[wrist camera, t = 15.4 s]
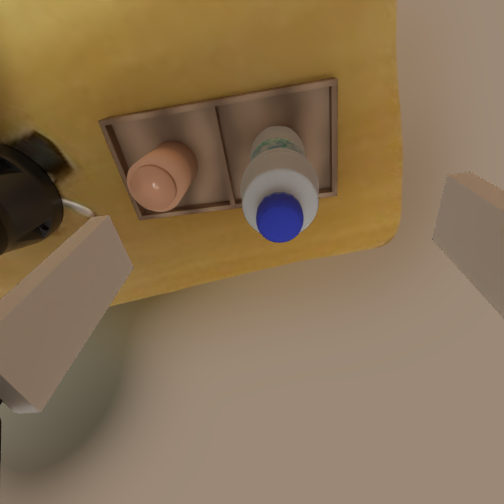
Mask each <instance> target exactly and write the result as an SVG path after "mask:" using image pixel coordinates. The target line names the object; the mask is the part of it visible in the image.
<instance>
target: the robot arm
mask: <svg viewBox="0 0 504 504" xmlns="http://www.w3.org/2000/svg"><path fill="white" fill-rule="evenodd" d="M62 216H63V208H62V202H61V199H60V196H59V194H58V192H57V190H56V188H55V186H54V184H53V183H52V181H51V180H50V179H49V177H48V176H47V175H46V174H45V173H44V171H43V170H42V169H41V168H40V167H39V166H38V165H36V164H35V163H34V162H33V161H32V160H30V159H29V158H28V157H26V156H25V155H23V154H22V153H20V152H18V151H16V150H14V149H12V148H10V147H8V146H5V145H2V144H0V255H2V254H3V253H6V252H9V251H12V250H15V249H19V248H22V247H25V246H29V245H32V244H35V243H38V242H40V241H42V240H44V239H45V238H47V237H48V236H49V235H51V234H52V233H53V232H54V231H55V230H56V229H57V228H58V227H59V225H60V223H61V221H62ZM432 240H433V241H434V242H435V243H436V244H437V245H438V247H439V248H440V249H441V250H442V251H443V252H444V253H445V254H446V255H447V256H448V258H449V259H450V260H451V261H452V262H453V263H454V264H455V265H456V266H457V267H458V269H459V270H460V271H461V272H462V273H463V274H464V275H465V276H466V277H467V279H468V280H469V281H470V282H471V283H472V284H473V285H474V286H475V287H476V288H477V290H478V291H479V292H480V293H481V294H482V295H483V296H484V297H485V298H486V299H487V300H488V302H489V303H490V304H491V305H492V306H493V307H494V308H495V310H496V311H498V313H499V314H500V315H501V316H502V317H503V318H504V191H503V190H502V189H500V188H498V187H496V186H494V185H493V184H491V183H489V182H487V181H486V180H484V179H482V178H480V177H478V176H477V175H475V174H473V173H471V172H465V173H457V174H448V175H447V177H446V182H445V186H444V190H443V195H442V199H441V203H440V208H439V212H438V216H437V221H436V225H435V229H434V234H433V238H432ZM133 268H134V267H133V265H132V263H131V261H130V259H129V257H128V255H127V252H126V250H125V248H124V246H123V244H122V242H121V240H120V237H119V235H118V233H117V231H116V229H115V227H114V225H113V222H112V220H111V218H110V216H109V215H106V216H97V217H92V218H91V219H89V220H88V221H87V222H86V223H85V224H84V225H83V226H82V227H81V228H79V229H78V230H77V231H76V232H75V233H74V234H73V235H72V236H71V237H69V238H68V239H67V240H66V241H65V242H64V243H63V244H62V245H61V246H59V247H58V248H57V249H56V250H55V251H54V252H53V253H52V254H51V255H49V256H48V257H47V258H46V259H45V260H44V261H43V262H42V263H41V264H39V265H38V266H37V267H36V268H35V269H34V270H33V271H32V272H31V273H29V274H28V275H27V276H26V277H25V278H24V279H23V280H22V281H20V282H19V283H18V284H17V285H16V286H15V287H14V288H13V289H12V290H10V291H9V292H8V293H7V294H6V295H5V296H4V297H3V298H2V299H0V404H1V403H2V402H3V403H5V404H6V405H7V406H8V407H9V408H10V409H11V410H13V411H14V412H15V413H40V412H41V411H42V409H43V408H44V406H45V405H46V403H47V402H48V400H49V399H50V397H51V395H52V394H53V392H54V391H55V389H56V388H57V386H58V385H59V383H60V381H61V380H62V378H63V377H64V375H65V374H66V372H67V371H68V369H69V368H70V366H71V364H72V363H73V361H74V360H75V358H76V357H77V355H78V354H79V352H80V350H81V349H82V347H83V346H84V344H85V343H86V341H87V340H88V338H89V336H90V335H91V333H92V332H93V330H94V328H95V327H96V326H97V324H98V322H99V321H100V319H101V318H102V316H103V315H104V313H105V312H106V310H107V309H108V307H109V305H110V304H111V302H112V301H113V299H114V298H115V296H116V295H117V293H118V291H119V290H120V288H121V287H122V285H123V284H124V282H125V281H126V279H127V277H128V276H129V274H130V273H131V271H132V270H133ZM0 459H1V419H0ZM0 461H1V460H0Z"/></svg>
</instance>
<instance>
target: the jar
mask: <svg viewBox="0 0 504 504" xmlns="http://www.w3.org/2000/svg"><path fill="white" fill-rule="evenodd" d="M197 171H198V162H197V159H196V156H195V154H194V153H193V151H192V150H191V149H190V148H189V147H188V146H186V145H185V144H183V143H181V142H179V141H174V140H169V141H165V142H162V143H161V144H159V145H158V146H157V147H155V148H154V149H153V150H151V151H150V152H149V153H147V154H146V155H145V156H143V157H142V158H141V159H139V160H138V161H137V162H135V163H134V164H133V165H132V166H131V167H130V169H129V171H128V174H127V185H128V189H129V191H130V193H131V195H132V197H133V198H134V199H135V200H136V201H137V202H138V203H139V204H140V205H141V206H143V207H145V208H147V209H149V210H152V211H156V212H164V211H168V210H171V209H173V208H174V207H175V206H177V204H178V203H179V202H180V200H181V199H182V197H183V196H184V194H185V192H186V191H187V189H188V188H189V186H190V185H191V183H192V182H193V180H194V179H195V177H196V175H197Z"/></svg>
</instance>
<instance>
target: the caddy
mask: <svg viewBox="0 0 504 504" xmlns="http://www.w3.org/2000/svg"><path fill="white" fill-rule="evenodd" d="M98 122H99V125H100V127H101V130H102V132H103V134H104V137H105V139H106V141H107V144H108V146H109V149H110V151H111V153H112V156H113V158H114V161H115V163H116V165H117V168H118V170H119V173H120V175H121V177H122V180H123V182H124V184H125V187H126V189H127V192H128V194H129V196H130V199H131V201H132V204H133V206H134V208H135V211H136V213H137V215H138V218H139V220H145V219H153V218H161V217H169V216H177V215H186V214H194V213H202V212H210V211H218V210H226V209H234V208H242V199H241V193H240V186H241V180H242V177H243V175H244V172H245V170H246V168H247V166H248V165H249V163H250V155H251V148H252V144H253V142H254V140H255V139H256V137H257V136H258V135H259V134H260V133H261V132H262V131H263V130H264V129H266V128H268V127H270V126H286V127H289V128H291V129H292V130H293V131H294V132H295V133H296V134H297V135H298V136H299V138H300V139H301V141H302V143H303V146H304V151H305V158H306V159H307V160H308V161H309V162H310V164H311V165H312V167H313V168H314V170H315V172H316V175H317V177H318V182H319V193H318V197H319V198H324V197H332V196H337V78H327V79H322V80H316V81H310V82H305V83H299V84H293V85H288V86H282V87H277V88H271V89H265V90H260V91H254V92H248V93H243V94H237V95H232V96H226V97H220V98H215V99H209V100H203V101H198V102H192V103H187V104H181V105H175V106H170V107H164V108H158V109H153V110H147V111H142V112H136V113H130V114H125V115H119V116H113V117H108V118H105V119H102V120H100V121H98ZM169 140H174V141H179V142H181V143H183V144H185V145H186V146H188V147H189V148H190V149H191V150H192V151H193V153H194V154H195V156H196V159H197V162H198V171H197V175H196V177H195V179H194V180H193V182H192V183H191V185H190V186H189V188H188V189H187V191H186V192H185V194H184V196H183V197H182V199H181V200H180V202H179V203H178V204H177V206H175V207H174V208H173V209H171V210H168V211H164V212H156V211H152V210H149V209H147V208H145V207H143V206H141V205H140V204H139V203H138V202H137V201H136V200H135V199H134V198H133V197H132V195H131V193H130V191H129V189H128V185H127V174H128V171H129V169H130V167H131V166H132V165H133V164H134V163H135V162H137V161H138V160H139V159H141V158H142V157H143V156H145V155H146V154H147V153H149V152H150V151H151V150H153V149H154V148H155V147H157V146H158V145H159V144H161V143H162V142H165V141H169Z"/></svg>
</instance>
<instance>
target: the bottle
mask: <svg viewBox="0 0 504 504" xmlns="http://www.w3.org/2000/svg"><path fill="white" fill-rule="evenodd" d="M240 193H241V199H242V209H243V213H244V216H245V218H246V220H247V221H248V223H249V224H250V225H251V226H252V228H254V229H255V230H256V231H257V232H259V233H261V234H262V235H263V237H265V238H266V239H268V240H270V241H273V242H278V243H280V242H287V241H290V240H292V239H293V238H295V237H296V236H297V235H298V234H299V233H300V232H302V231H303V230H304V229H306V228H307V227H308V226H309V225H310V223H311V222H312V221H313V219H314V217H315V215H316V213H317V210H318V203H319V197H318V193H319V182H318V177H317V175H316V172H315V170H314V168H313V167H312V165H311V164H310V162H309V161H308V160H307V159H306V158H305V151H304V146H303V143H302V141H301V139H300V138H299V136H298V135H297V134H296V133H295V132H294V131H293V130H292V129H291V128H289V127H286V126H270V127H268V128H266V129H264V130H263V131H262V132H261V133H260V134H259V135H258V136H257V137H256V139H255V140H254V142H253V144H252V148H251V155H250V163H249V165H248V166H247V168H246V170H245V172H244V175H243V177H242V180H241V186H240Z"/></svg>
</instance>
